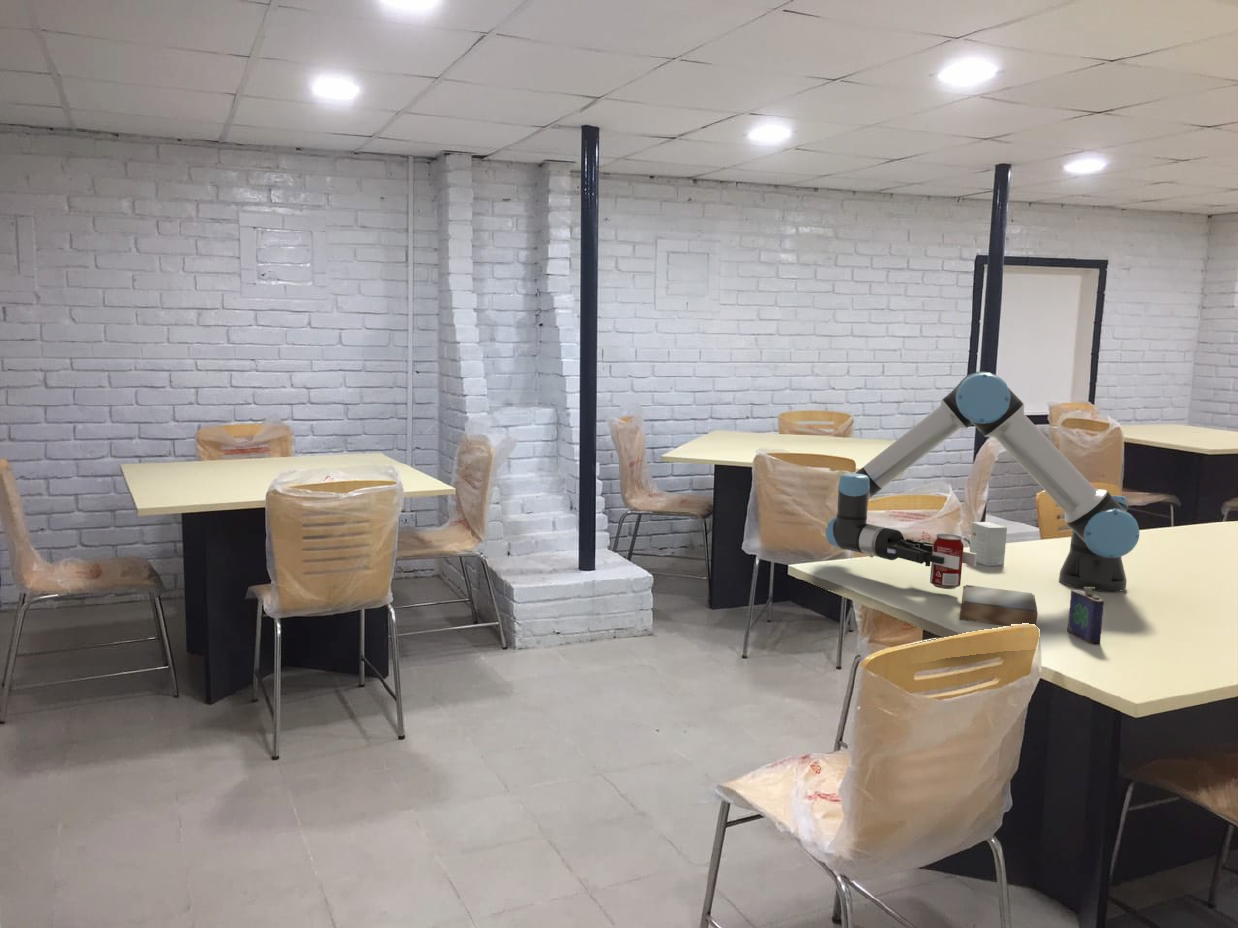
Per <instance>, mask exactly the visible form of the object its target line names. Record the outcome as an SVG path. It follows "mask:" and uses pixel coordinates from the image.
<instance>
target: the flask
mask: <svg viewBox="0 0 1238 928" xmlns="http://www.w3.org/2000/svg"><path fill="white" fill-rule="evenodd" d="M1093 589H1095V587H1084V589H1083V590H1085V591H1083V590H1080V589H1071V590H1070V600H1069V601H1070V602H1069V603H1070V604H1069V609H1068V610H1069V611H1068V612H1069V613H1068V621H1067V627H1066V631H1067V633H1069V634H1072V635H1073V636H1075V637H1077V638H1078V639H1081V640H1083V641H1084V642H1086V643H1088V644H1091V645H1094V646H1099V645H1101V637H1102V636H1101V635H1102V627H1103V626H1102V625H1103V615H1104V605H1105V601H1104V600H1103V599H1102V598H1100V596H1098V595H1096V592H1095V591H1093Z"/></svg>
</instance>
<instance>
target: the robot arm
mask: <svg viewBox="0 0 1238 928" xmlns="http://www.w3.org/2000/svg"><path fill="white" fill-rule="evenodd" d="M1024 410H1025V404H1024V402H1023V401H1022V400H1021V399H1020V398H1019V397H1018V396H1017V395H1016V394H1015V393H1014V392H1013V391H1012V390H1011V389H1010V388H1009V387H1008V385H1007V383H1006V382H1005V381H1004V379H1002V378H1001V377H1000V376H998V375H997V374H994V373H991V372H987V371H975V372H972V373H969V374H968V375H965V377H964V378H962V380H960V382H959V383H958V384H957V385H956V386H955V387H954V388H953V389H952V390H951V392H950V393H948V394H947V395H946V396H944V397H943V398H942V399H941V401H940V405H939V406H938V407H937V408H936V409H934V410H933V411H932V412H931V413H930V414H928V415H927V416H926V417H925V418H923V419H922V420H921V421H919V422H918V423H917V424H915V426H913V427H912V428H910V429H909V430H908V431H907V432H905V433H904V434H903V435H902V436H900V437H899V438H898V439H896V440H895V441H894V442H893V443H891V444H890V445H889V446H888V447H886V448H885V449H884V450H883V451H882V452H879V454H877V455H876V456H875V457H874V458H872V459H871V460H870V461H868V463H866V464H865V465H864V466H863V467H861V468H860V469H859V470H857V471H856V472H855V473H854V472H848V473H843V474H841V475H840V476H839V482H838V485H837V486H838V487H837V493H838V494H837V509H836V510H837V511H836V512H837V513H836V516H835V517H833V518H831V519H830V520H829V522H828V523H827V527H826V528H825V539H826V541H827V542H828V543H829V544H830V546H832V547H835V548H840V549H842V550H844V551H847V550H848V551H852V552H855V553H861V554H864V555H869V557H870V558H872V559H873V558H874V557H878V558H881V559H885V560H889V561H895V560H896V559H898V558H899V559H901V560H906V561H908V562H909V561H910V562H913V563H916V564H920V565H922V564H924V563H925V566H924V567H931V563H932V564H936V565H940V566H944V567H948V568H953V569H959V558H960V557H955V556H951V555H946V554H942V553H937V552H932V550H933V542H932V541H926V540H923V539H917V540H914V539H913V538H905V537H904V535H903V533H902V532H901V531H900V530H898V529H893V528H888V527H884V526H879V525H875V524H868V523H867V519H868V509H869V500H870V499H871V498H872V497H873V496H875V495H876V494H877V493H878V492H880V491H881V490H882V489H883V488H884V487H886V486H887V485H888V484H890V483H892V481H893V480H895V479H896V478H897V477H899V476H900V475H901V474H903V473H904V472H905V471H907V470H908V469H909V468H911V467H912V466H913V465H915V464H916V463H917V462H918V461H919V460H921V459H923V458H924V457H925V456H926V455H928V454H929V453H930V452H931V451H932V450H934V449H935V448H936V447H938V446H939V445H940V444H942V443H944V441H945V440H947V439H949V438H950V437H951V436H952V435H954V434H955V433H956V432H958V430H961V429H968V428H969V427H971V426H972V425H973V426H974V427H975V428H977V430H978V431H979V432H980V433H981V434H982V435H983V437H985V438H994V439H996V440H997V442H998V443H999V444H1000V445H1001V446H1002V447H1003V448H1004V449H1005V450H1006V451H1007V452H1008V453H1009V455H1010V456H1012V457H1013V459H1015V461H1016V462H1017V463H1018V464H1019V465H1020V466H1021V467H1022V469H1024V470H1025V471H1026V472H1027V474H1029V475H1030V476H1031V478H1033V480H1035V482H1036V483H1037V484H1038V485H1039V486H1040V487H1041V489H1043V490H1044V491H1045V493H1047V494H1048V495H1049V496H1050V498H1051V499H1052V500H1053V501H1054V502H1055V504H1057V505H1058V506H1059V507H1060V509H1062V510H1063V512H1064V522H1065V523H1066V524H1067V525H1068V526H1069V528H1070V529H1071V537H1070V547H1069V552H1068V554H1067V556H1066V558H1065V560H1064V563H1063V564H1062V567H1061V568H1060V570H1059V571H1060V572H1059V574H1058V575H1059V577H1058V581H1059V582H1060V583H1062V584H1065V585H1067V586H1070V587H1073V588H1077V589H1082V590H1085V589H1084V587H1095V589H1093V590H1092V591H1093V592H1095V591H1096V592H1106V593H1107V592H1108V593H1115V592H1114V591H1119V592H1121V591H1120V590H1124V591H1125V590H1126V589H1127V575H1126V571H1125V568H1124V564H1123V560H1122V557H1123V556H1127V554H1129V553H1130V552H1132V551H1133V550H1134V548H1135V547H1136V546H1137V544H1138V542H1139V539H1140V527H1139V524H1138V521H1137V520H1136V518H1135V517H1134V516H1133V515H1132V514H1131V513H1129V512H1128V509H1129V505H1128V498H1127V497H1126V496H1123V495H1115V494H1113V495H1112V494H1111V493H1109V491H1108V490H1106V489H1100V488H1095V486H1093V485H1092V483H1091V482H1090V481H1089V480H1088V479H1087V478H1086V477H1085V476H1084V475H1083V474H1082V473H1081V472H1080V471H1079V470H1078V469H1077V467H1075V465H1073V463H1071V461H1070V460H1069V459H1067V457H1066V456H1065V455H1064V454H1063V453H1062V452H1061V451H1060V450H1059V449H1058V447H1056V446H1055V445H1054V443H1052V441H1050V439H1049V438H1048V437H1047V436H1046V435H1045V434H1044V433H1043V432H1042V431H1041V430H1040V429H1039V427H1037V426H1036V424H1034V423H1033V421H1031V419H1030V418H1029V417H1028V416H1027V415H1026V414H1025V411H1024ZM976 557H977V554H976V553H971V552H970V551H966V550H963V559H962V564H966V565H971V566H976V565H977V562H976Z"/></svg>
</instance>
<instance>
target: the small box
mask: <svg viewBox="0 0 1238 928" xmlns="http://www.w3.org/2000/svg"><path fill="white" fill-rule="evenodd" d="M970 530H971V531H970V541H969V543H970V544H969V552H971V553H976V554H977V557H976V563H977V564H980V565H983V566H986V567H992V566H993V567H994V566H995V567H996V566H1004V565H1005V555H1006V545H1007V544H1006V543H1007V542H1006V541H1007V531H1008V528H1007V526H1003V525H1001V524H1000V525H999V524H996V523H993V522H990V521H972V522H971V529H970Z"/></svg>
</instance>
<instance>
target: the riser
mask: <svg viewBox="0 0 1238 928" xmlns="http://www.w3.org/2000/svg"><path fill="white" fill-rule="evenodd" d="M961 594H962V596H961V606H960V616H959V619H960V620H963V621H970V622H976V621H978V622H977V623H983V622H984V624H991V623H993V624H992V625H998V624H999V625H998V626H1005V625H1011V624H1022V623H1029V624H1035V625H1036V626H1037V624H1038V623H1037V622H1038V615H1039V613H1038V606H1037V601H1036V596H1035V594H1033V593H1032V592H1026V591H1018V590H1011V589H1003V588H1001V589H1000V588H996V587H995V588H994V587H993V588H992V587H985V586H978V585H970V584H969V585H968V584H965V585H963V587H962V593H961Z"/></svg>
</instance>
